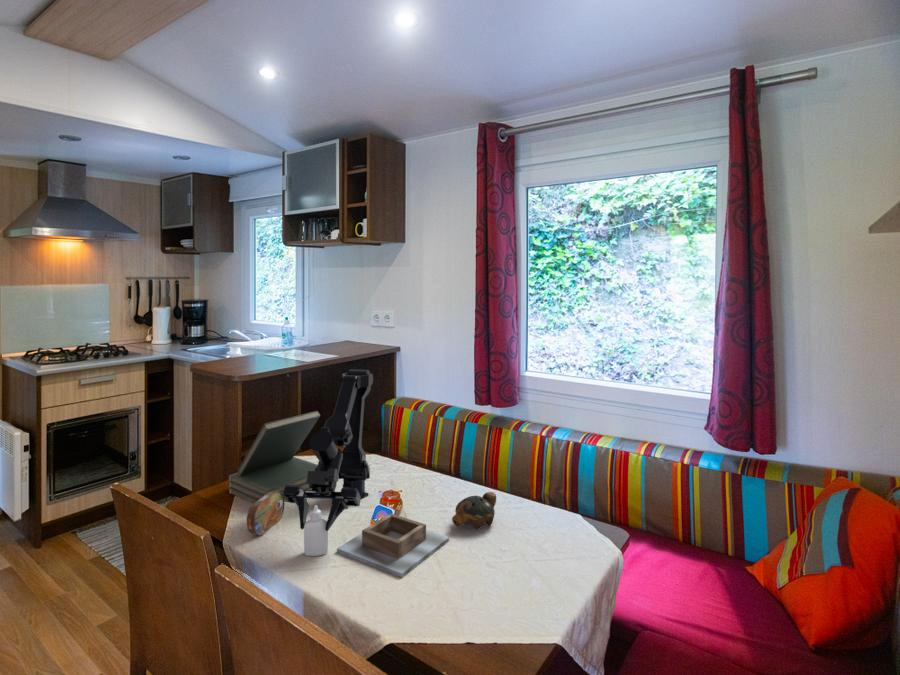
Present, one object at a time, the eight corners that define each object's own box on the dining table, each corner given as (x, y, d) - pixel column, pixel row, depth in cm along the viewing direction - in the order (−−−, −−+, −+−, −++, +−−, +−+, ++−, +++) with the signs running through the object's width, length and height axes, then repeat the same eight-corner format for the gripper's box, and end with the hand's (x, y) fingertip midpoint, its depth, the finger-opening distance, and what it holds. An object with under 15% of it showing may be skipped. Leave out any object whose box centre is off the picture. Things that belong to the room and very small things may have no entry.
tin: (255, 541, 132) (255, 509, 131) (244, 540, 133) (243, 508, 132) (285, 515, 147) (285, 487, 146) (275, 514, 147) (275, 485, 146)
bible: (290, 473, 180) (289, 402, 177) (328, 486, 168) (328, 411, 165) (229, 494, 161) (226, 415, 158) (267, 511, 150) (265, 427, 147)
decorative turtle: (506, 520, 146) (507, 494, 144) (469, 542, 135) (469, 514, 134) (480, 508, 152) (481, 482, 151) (443, 527, 142) (443, 501, 140)
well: (388, 520, 144) (388, 503, 144) (449, 540, 134) (449, 522, 133) (337, 552, 127) (336, 532, 127) (402, 577, 117) (402, 556, 116)
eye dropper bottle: (311, 546, 130) (310, 500, 129) (331, 550, 128) (330, 503, 127) (301, 555, 126) (300, 507, 124) (321, 559, 124) (321, 511, 123)
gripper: (284, 453, 129) (265, 515, 119) (357, 456, 128) (345, 520, 118) (296, 472, 138) (280, 531, 128) (365, 475, 136) (354, 536, 126)
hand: (314, 529), depth 125 cm, fingers open, 6 cm apart
